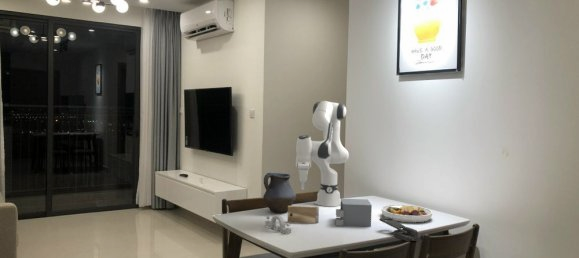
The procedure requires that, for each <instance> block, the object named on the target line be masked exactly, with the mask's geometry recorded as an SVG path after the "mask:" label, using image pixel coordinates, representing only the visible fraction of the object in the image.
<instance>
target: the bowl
mask: <svg viewBox="0 0 579 258" xmlns="http://www.w3.org/2000/svg"><path fill="white" fill-rule="evenodd" d="M381 214H382V215H383V216H384V218H385V217H390V218H392V219H394V220H395V221H397V222H398V221H399V223H406V222H413V223H414V222H415V223H414V224H417V223H416V222H421V223H425V222H428V221H430V220H431V218H432V216H433V211H432V210H430V209H429V208H425V207H422V206H419V205H411V204H410V205H407V204H390V205H384V206H383V207H381ZM424 221H425V222H424ZM413 223H412V224H413Z"/></svg>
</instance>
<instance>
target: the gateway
mask: <svg viewBox="0 0 579 258" xmlns="http://www.w3.org/2000/svg"><path fill="white" fill-rule="evenodd" d="M265 217H266V220H265V221H264V226H265V227H267V226H268V227H267V228H269V227H270V229H272V228H275V229H274V230H276V229H277V231H279V230H280V231H281V232H280V231H279V232H280V233H283V232H284V234H285V233H287V234H286V235H291V234H292V228H291V227H290V225H291V224H290V222H287V223H286V222H285V220H284V218H283V216H281V215H279V214H278V215H274V216H272V217H270V216H265ZM270 218H271V220H269V219H270ZM277 221H278V223H279V225H277ZM290 233H291V234H290Z"/></svg>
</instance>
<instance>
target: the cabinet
mask: <svg viewBox="0 0 579 258" xmlns="http://www.w3.org/2000/svg"><path fill="white" fill-rule="evenodd" d="M340 202H341V205H340V207H339V208H335V216H336V217H335V226H336V227H344V226H346V227H347V226H351V227H352V226H353V227H355V226H356V227H372V209H373V208H372V207H373V205H372V203H371V202H370V200H369V199H368V198H367V199H365V198H364V199H363V198H340Z"/></svg>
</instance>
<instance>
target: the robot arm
mask: <svg viewBox="0 0 579 258" xmlns="http://www.w3.org/2000/svg"><path fill="white" fill-rule="evenodd" d="M346 115H347V106H346V104H344V103H339V102H332V101H327V100H322V101H316V102H315V103H314V105H313V106H312V117H311V118H312V119H311V121H312V125H313V126H314V127H315V128H316V130H319V131H322V133H323V134H322V138H323V140H312V138H311V136H310V135H306V134H304V135H299V136H298V137H297V140H296V143H295V144H296V147H295V152H296V153H295V154H296V155H295V156H296V157H295V167H296V168H297V171H298V176H299V177H298V178H299V183H300V184H301V185H300V188H301V189H300V190H302V191H305V186H306V185H305V184H306V183H307V179H308V173H309V170H310V168H312V162H313V163H314V164H316V165H317V167H318V168H319V170H320V184H319V187H320V190H319V191H318V193H316V197H317V199H316V200H315V201H314V205H318V206H322V207H338V206H341V195H340V191H339V190H338V189H339V184H338V172H337V171H336V170H335V169H333V168H332V167H330V165H331V164H334V165H335V164H337V165H338V164H340V165H341V164H344V163H347V162H348V161H349V158H350V154H349V151H348V150H347V148H345V147H344V146H343V144H342V141H341V121H342V120H343V119H344V118H345V119H346Z"/></svg>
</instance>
